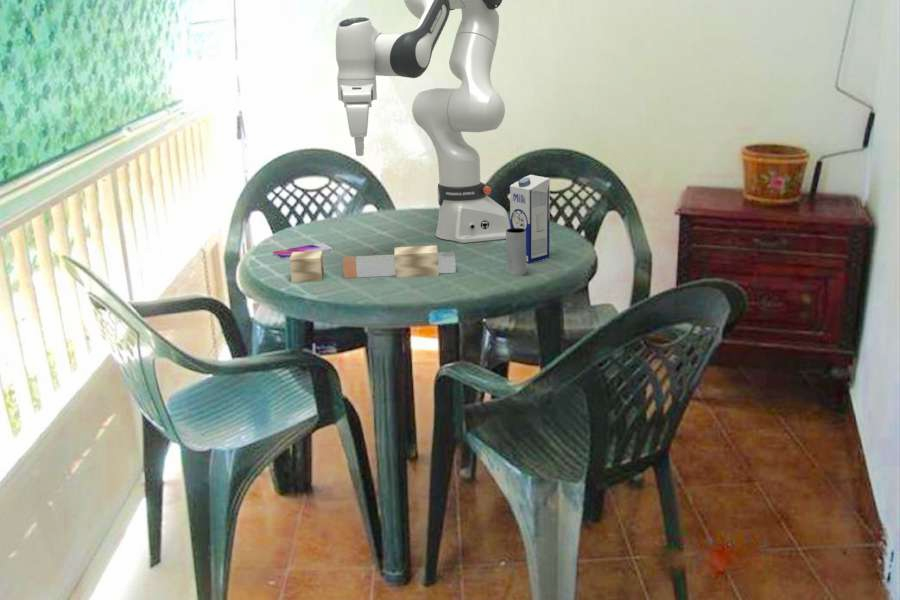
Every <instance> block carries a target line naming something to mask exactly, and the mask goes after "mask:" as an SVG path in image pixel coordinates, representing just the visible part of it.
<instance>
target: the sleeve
mask: <svg viewBox="0 0 900 600" xmlns="http://www.w3.org/2000/svg"><path fill="white" fill-rule="evenodd" d="M438 251H439V250H438V245H421V246H418V245H417V246H399V247H394V254H393V255H395V273H396V276H395V278H408V277H409V278H410V277H414V278H415V277H430V276H431V277H432V276H434V277H435V276H439V275H440V274H439V267H438Z"/></svg>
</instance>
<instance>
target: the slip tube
mask: <svg viewBox="0 0 900 600" xmlns="http://www.w3.org/2000/svg"><path fill="white" fill-rule="evenodd" d="M342 266H343V268H342V270H343V278H344V279H350V278H351V279H352V278H353V279H356V278H357V279H358V278H373V277H375V278H376V277H392V276H393V277H394V276H395V277H396V273H395V255H394V254H377V255H358V256H354V255H353V256H352V255H351V256H343V259H342ZM438 267H439V275H440V274H456V269H457V268H456V254H455V251H439V252H438Z"/></svg>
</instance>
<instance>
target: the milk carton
mask: <svg viewBox="0 0 900 600" xmlns="http://www.w3.org/2000/svg"><path fill="white" fill-rule="evenodd" d="M550 183H551V178H550V177H546V176H542V175H541V176H539V175H535V174H529V175H527V176H524V177H522V178H520V179H519V180H517V181H515V182H514V183H512V184H511V185H510V186H509V205H510V206H509V210H510V211H509V212H510V213H509V223H510V228H523V229H525V230H526V264H532V262H533V263H536V262H535V261H537V262H539V260H540V261H544V260H547V259H546V258H548V259H550V210H551V209H550V200H551V199H550V196H551V195H550V192H551V191H550V190H551V188H550V186H551V184H550ZM543 259H544V260H543Z"/></svg>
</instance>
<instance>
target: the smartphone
mask: <svg viewBox="0 0 900 600" xmlns="http://www.w3.org/2000/svg"><path fill="white" fill-rule="evenodd" d="M335 249H336V248H335V247H334V246H332V245H329V244H327V242H320V243H313V244H309V245H303V246H297V247H291V248H286V249H280V250H274V251H272V255H273V256H275V257H276V256H277V257H276V258H278V257H279V258H278V259H280V260H287V259H286V258H289V259H290V257H291V255H292V252H307V251H322V252H323V253H326V252H331V251H335Z"/></svg>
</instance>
